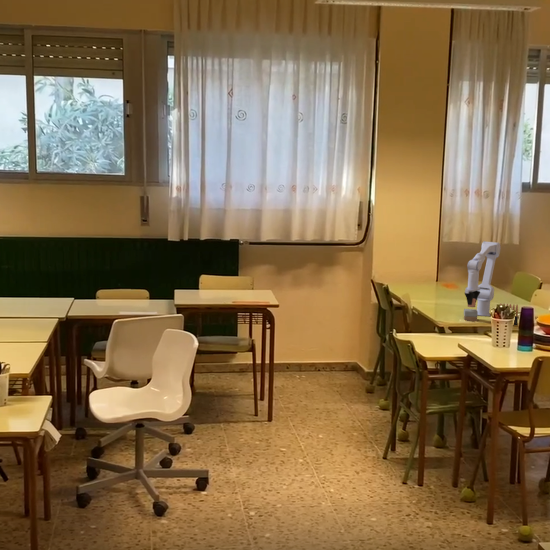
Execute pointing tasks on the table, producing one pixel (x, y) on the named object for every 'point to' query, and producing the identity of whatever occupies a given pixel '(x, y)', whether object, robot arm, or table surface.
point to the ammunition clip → (516, 313)
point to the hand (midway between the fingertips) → (471, 304)
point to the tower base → (470, 318)
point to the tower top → (470, 312)
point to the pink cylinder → (473, 303)
